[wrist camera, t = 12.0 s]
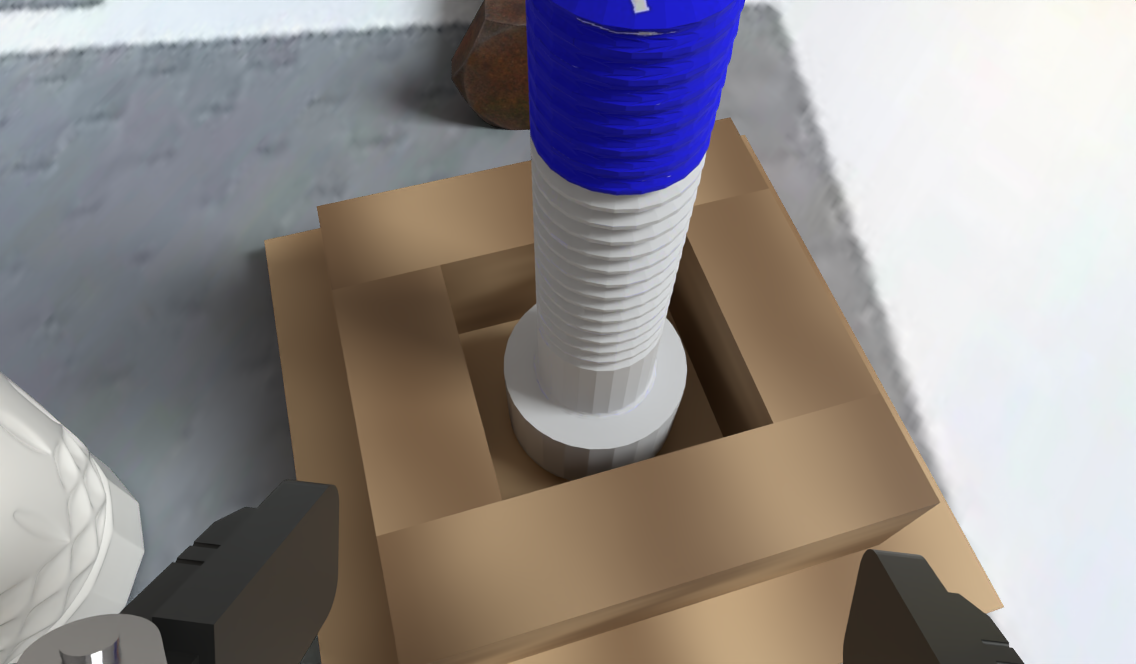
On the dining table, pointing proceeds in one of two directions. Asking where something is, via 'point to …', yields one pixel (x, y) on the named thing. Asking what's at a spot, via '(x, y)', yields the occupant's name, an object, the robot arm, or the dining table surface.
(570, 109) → the bolt
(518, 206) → the wooden square frame base
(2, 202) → the dining table surface
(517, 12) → the bolt
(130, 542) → the white cup
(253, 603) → the robot arm
